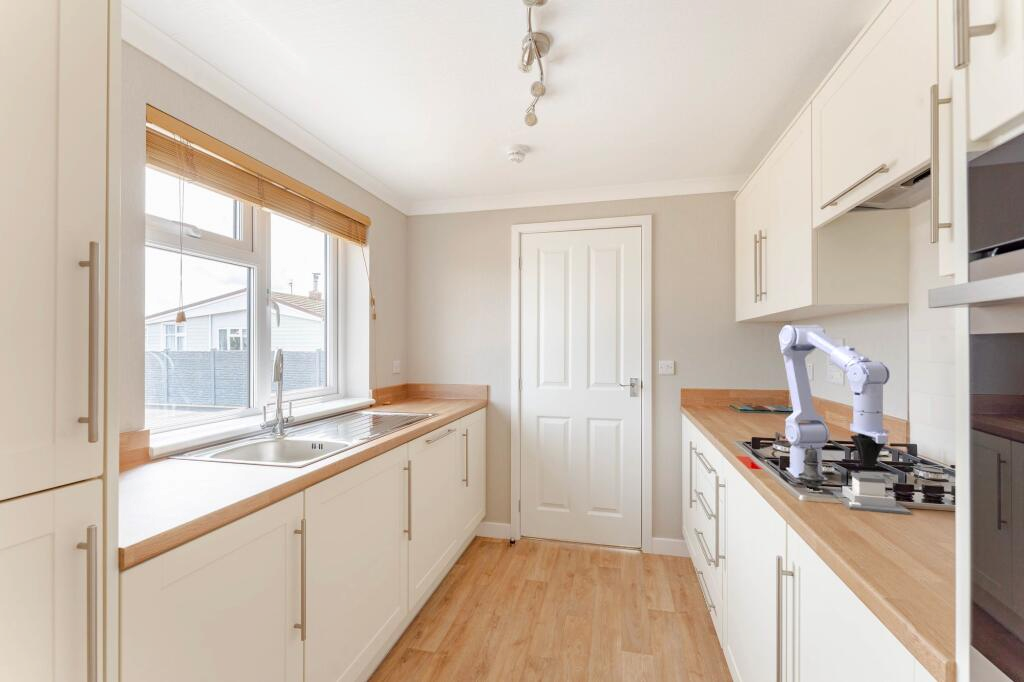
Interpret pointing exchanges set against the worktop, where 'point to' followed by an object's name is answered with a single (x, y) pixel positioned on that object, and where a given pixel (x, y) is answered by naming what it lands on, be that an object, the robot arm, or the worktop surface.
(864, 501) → the socket plate
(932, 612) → the worktop surface
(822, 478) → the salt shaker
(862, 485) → the plug
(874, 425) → the robot arm
